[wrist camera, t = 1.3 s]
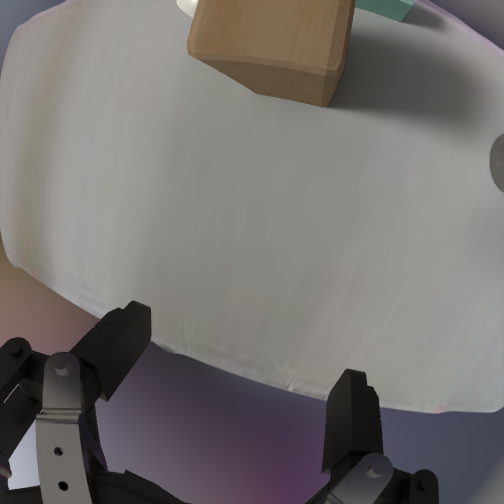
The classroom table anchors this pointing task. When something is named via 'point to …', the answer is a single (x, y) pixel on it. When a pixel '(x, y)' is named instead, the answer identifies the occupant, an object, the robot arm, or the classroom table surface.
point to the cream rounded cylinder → (188, 6)
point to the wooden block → (275, 44)
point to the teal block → (386, 7)
